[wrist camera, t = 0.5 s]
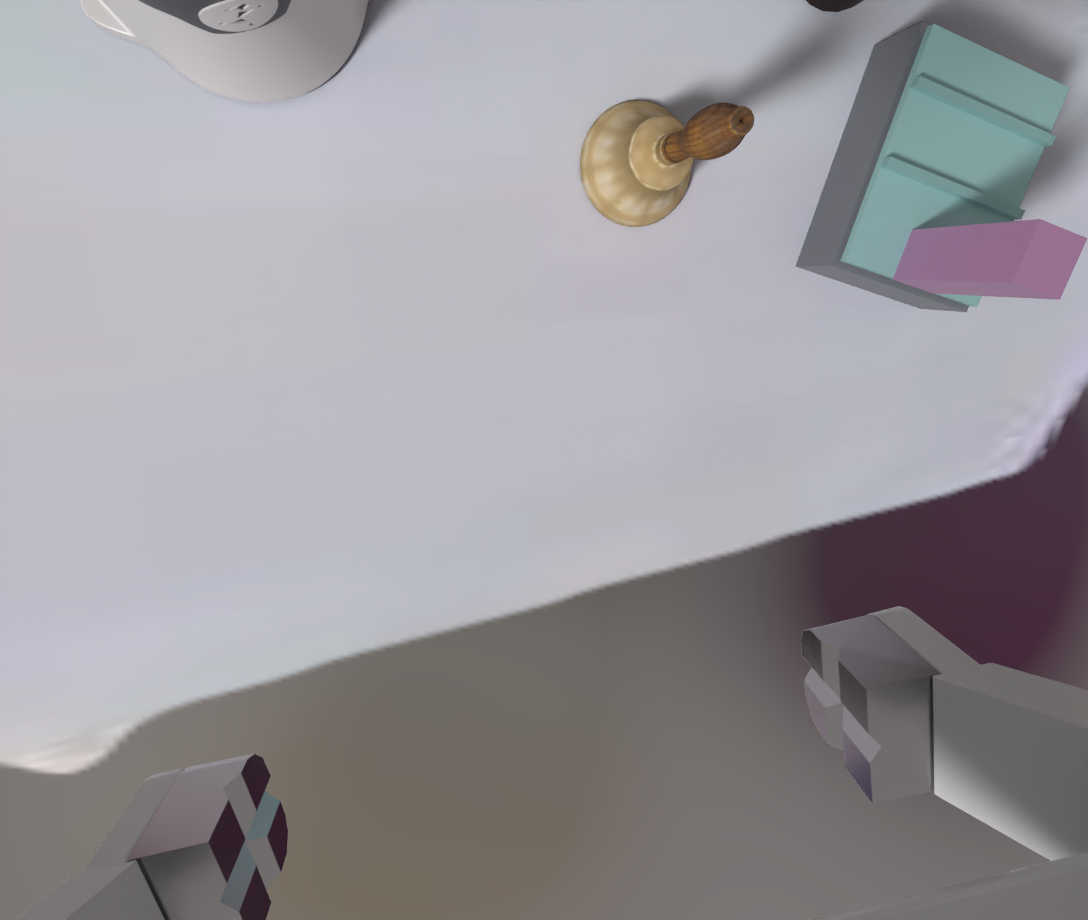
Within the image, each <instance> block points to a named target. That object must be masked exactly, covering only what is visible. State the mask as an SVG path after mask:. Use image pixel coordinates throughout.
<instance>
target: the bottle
mask: <svg viewBox="0 0 1088 920" xmlns="http://www.w3.org/2000/svg"><path fill="white" fill-rule="evenodd" d="M861 1H863V0H807V2H808V3H809V4H810V5H812V6H814V7H816V8H818V9H820V10H822V11H831V12H839V11H842V10H845V9H848V8H851V7H853V6H855V5H857V4H858V3H860V2H861Z"/></svg>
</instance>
